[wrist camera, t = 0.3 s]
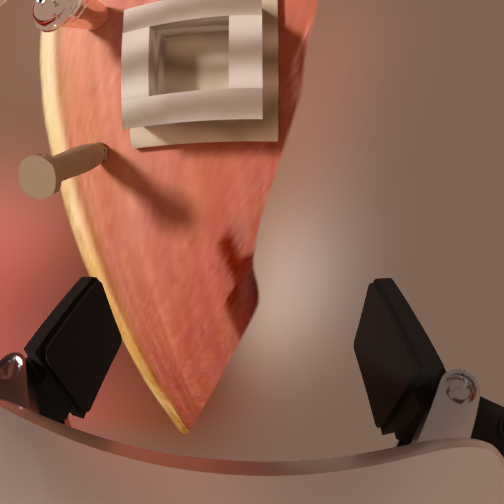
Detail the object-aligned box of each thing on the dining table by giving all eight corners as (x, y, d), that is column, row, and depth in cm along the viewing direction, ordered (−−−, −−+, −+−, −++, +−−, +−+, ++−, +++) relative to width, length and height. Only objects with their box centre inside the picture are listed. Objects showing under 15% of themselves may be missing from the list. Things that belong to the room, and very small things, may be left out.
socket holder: (134, 10, 25) (112, -4, 19) (276, -6, 25) (279, -28, 18) (134, 147, 36) (110, 155, 29) (277, 140, 35) (281, 146, 29)
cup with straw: (114, 36, 27) (22, 7, 10) (68, 46, 27) (-25, 37, 9) (125, -9, 23) (48, -56, 6) (78, 3, 23) (-5, -23, 5)
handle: (117, 170, 37) (56, 202, 24) (83, 165, 37) (19, 195, 23) (120, 138, 35) (55, 157, 22) (85, 135, 34) (18, 155, 21)
